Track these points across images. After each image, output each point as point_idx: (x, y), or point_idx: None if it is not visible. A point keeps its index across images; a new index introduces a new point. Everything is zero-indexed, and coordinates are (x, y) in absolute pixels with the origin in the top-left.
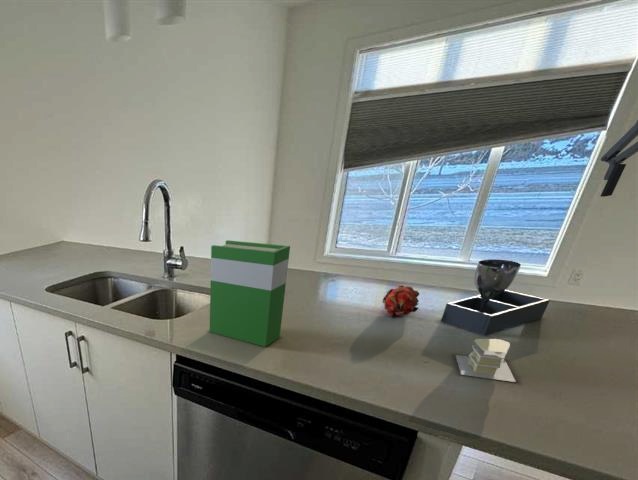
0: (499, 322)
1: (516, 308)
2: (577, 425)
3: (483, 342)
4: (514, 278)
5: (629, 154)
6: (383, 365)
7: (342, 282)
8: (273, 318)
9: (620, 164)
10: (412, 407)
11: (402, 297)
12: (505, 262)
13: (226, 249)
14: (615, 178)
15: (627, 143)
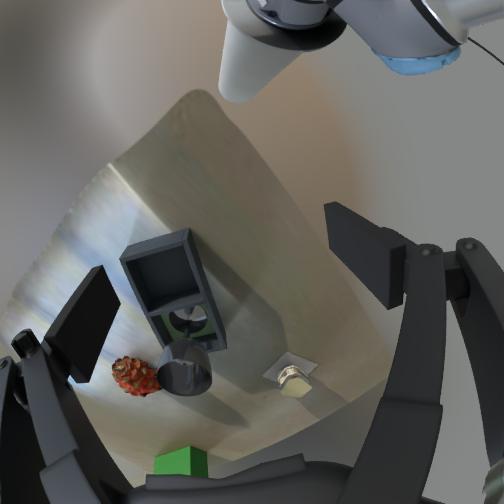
0: (220, 324)
1: (209, 308)
2: (367, 363)
3: (289, 391)
4: (205, 355)
5: (79, 407)
6: (259, 417)
7: None
8: (201, 468)
9: (69, 364)
10: (314, 418)
11: (148, 390)
12: (168, 360)
13: None
14: (95, 327)
15: (17, 429)
